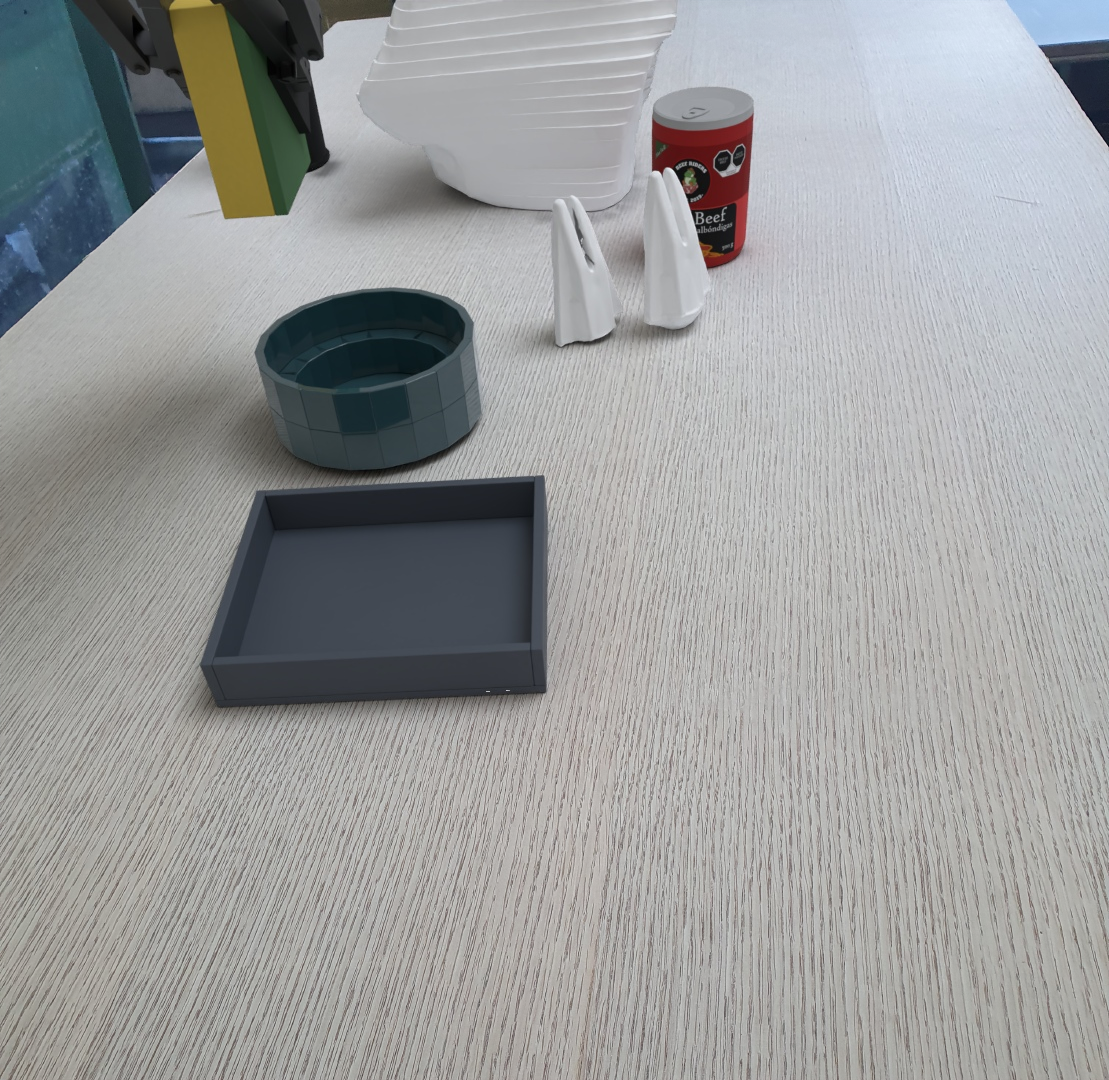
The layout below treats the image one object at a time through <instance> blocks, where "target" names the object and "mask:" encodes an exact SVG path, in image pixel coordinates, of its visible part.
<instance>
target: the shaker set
mask: <svg viewBox="0 0 1109 1080" xmlns="http://www.w3.org/2000/svg"><path fill="white" fill-rule="evenodd" d="M643 209H644V210H643V222H642V223H643V224H642V240H643V250H644V285H643V287H644V288H643V289H644V290H643V292H644V293H643V294H644V295H643V299H644V300H643V321H644V323H645V324H646V325H650V326H655V327H656V326H657V327H662V328H663V329H667V330H672V331H673V330H674V331H675V330H681V329H683V328H686V327H688V326H689V325H691V324H692V323H693V322H694V321H695V320H696V318H697V317H698V316H699V315H700V313H701V312H702V311H703V309H704V307H705V305H706V297H707V296H708V294H709V293H710V292H711V290H712V289H713V287H712V279H711V277H710V275H709V272H708V267H707V268H706V264H705V262H704V258H703V255H702V251H701V248H700V245H699V240H698V236H697V231H696V227H695V224H694V221H693V217H692V214H691V211H690V208H689V204H688V201H687V198H686V195H685V193H684V190H683V188H682V186H681V184H680V182H679V179H678V177H677V175H676V174H675V172H674V171H673V170H672V169H671V168H665V169H664V172H663V178H662V175H661V173H660V172H659V171H653V172H652V171H651V172H650V174H649V176H648V180H647V185H646V190H645V199H644V208H643ZM551 211H552V212H551V228H550V229H551V231H550V246H551V247H550V248H551V249H550V250H551V251H550V252H551V264H552V280H553V281H552V282H553V283H552V284H553V312H554V336H555V337H554V339H555V346H558V347H559V348H560V347H561V348H562V347H564V346H565V345H567V344H572V343H573V342H578V341H579V342H593V341H595V340H597V339H600V338H602V337H605V336H606V335H608V334H609V333H611V331H612V330H614V328H616V327H617V324H616V318H615V317H617V315H619V314H623V313H624V311H625V308H624V305H623V301H622V300H621V297H620V295H619V293H618V290H617V287H616V285H615V282H614V280H613V278H612V275H611V272H610V270H609V267H608V265H607V261H606V259H605V257H604V254H603V252H602V250H601V249H602V248H601V246H600V244H599V241H598V237H597V235H596V232H595V230H594V227H593V225H592V222H591V220H590V217H589V215H588V213H587V211H585V210H584V208H583V206H582V204H581V203H580V201H579V200H578V198H576V197H575V196H570V197H569V198H568V209H567V206H566V204H565V202H564V200H562V199H557V200H556V201H555V202H554V204H553V210H551ZM584 253H585V254H584Z"/></svg>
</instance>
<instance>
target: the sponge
mask: <svg viewBox="0 0 1109 1080" xmlns="http://www.w3.org/2000/svg"><path fill="white" fill-rule="evenodd" d="M169 11H170V18H171V24H172V30H173V36H174V40H175V44H176V47H177V51H178V55H179V58H180V62H181V65H182V69H183V72H184V76H185V80H186V83H187V87H188V90H189V94H190V97H191V100H190V101H191V104H192V108H193V112H194V115H195V118H196V123H197V125H198V129H199V130H198V131H199V132H200V133H199V134H200V136H201V141H202V144H203V147H204V150H205V155H206V158H207V161H208V162H207V163H208V165H209V168H210V172H211V175H212V180H213V183H214V187H215V191H216V194H217V197H218V201H219V205H220V208H221V212H222V216H223V219H224V220H234V219H236V220H237V219H250V218H263V217H265V218H266V217H275V216H276V217H278V216H279V217H280V216H288V215H289V214H290V212H291V209H292V207H293V204H294V203H295V200H296V197H297V195H298V193H299V190H300V188H301V185H302V183H303V181H304V178H305V177H306V174H307V172H308V171H307V169H308V167H309V165H310V162H311V160H310V155H309V150H308V146H307V141H306V136H305V134H299V132H298V131H297V129H296V127H295V125H294V123H293V121H292V119H291V118H290V116H289V114H288V112H287V110H286V108H285V106H284V105H283V103H282V101H281V99H280V97H279V95H278V93H277V92H276V90H275V88H274V86H273V84H272V82H271V80H270V79H269V77H268V70H267V55H266V54H265V53H264V52H263V51H262V49H261V48H260V47H259V46H258V45H257V44H256V43H255V42H254V40H253V39H252V38H251V37H250V36H249V35H248V34H247V32H246V31H245V30H244V29H243V28H242V27H241V26H240V25H239V23H238V22H237V21H236V20H235V19H234V18H233V17H232V15H231V14H230V13H229V12H228V11H227V10H226V9H225V8H224V6H223V5H222V4H221V3H220V4H216V5H214V4H213V3H212V2H211V1H210V0H174V2H173V3H172V4H171V6H170V8H169Z"/></svg>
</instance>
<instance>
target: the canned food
mask: <svg viewBox="0 0 1109 1080" xmlns="http://www.w3.org/2000/svg"><path fill="white" fill-rule="evenodd" d="M754 115H755V107H754V98H753V97H752V96H751V95H750V94H748V93H747V92H745V91H742V90H740V89H736V88H731V87H723V86H698V87H697V86H696V87H689V88H682V89H680V90H675V91H673V92H670V93H667V94H665V95H663V96H661V97H659V98H657V100H656V101H655V102H654V103H653V105H652V115H651V172H653V171H659V172H660V173H661V175H662V178H663V172H664V169H665V168H671V169H672V170H673V171H674V172H675V174H676V175H677V177H678V179H679V182H680V184H681V186H682V188H683V190H684V193H685V195H686V198H687V201H688V204H689V208H690V211H691V214H692V217H693V221H694V224H695V227H696V231H697V236H698V240H699V245H700V248H701V251H702V255H703V258H704V262H705V264H706V268H707V269H708V268H712V267H717V266H721V265H724V264H727V263H728V262H730V261H732V260H733V259H735V258H737V257H738V256H739V254H741V252H742V250H743V247H744V245H745V242H746V237H747V222H748V221H747V220H748V210H749V209H748V208H749V206H748V205H749V194H750V193H749V192H750V181H751V180H750V179H751V165H752V164H751V163H752V149H753V136H754Z"/></svg>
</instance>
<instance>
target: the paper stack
mask: <svg viewBox="0 0 1109 1080" xmlns="http://www.w3.org/2000/svg"><path fill="white" fill-rule="evenodd" d="M677 13H678V0H395V2H394V3H393V6H392V10H391V14H390V19H389V20H388V22H387V27H386V31H385V35H384V36H385V37H384V39H383V40H382V44H381V46H380V48H379V50H378V53H377V54H376V57H375V58H374V59H373V60H372V62H371V65H370V68H369V70H368V71H369V72H368V74H367V75H366V77H364V79H363V81H362V83H361V85H360V88H359V91H357V92H356V93H355V96H356V99H357V101H358V105H359V107H360V109H361V111H362V114H363V115H364V116H365V117H366V118H368V119H369V120H370V121H371V122H372V123H373V125H375V126H376V127H378V128H379V129H380V130H382V131H383V132H384V133H386V134H387V135H389V136H390V137H392V138H393V139H395V140H397V141H399V142H401V143H402V144H405V145H409V146H414V147H422V150H423V151H424V153H425V156H426V157H427V158H428V159H429V163H430V166H431V169H432V172H433V174H434V175H435V178H436V179H437V180H439V181H440V182H442V183H443V184H446V185H447V186H449V187H451V188H453V189H455V190H456V191H459V192H461V193H463V194H464V195H465V196H467V197H469V198H471V199H474V200H477V201H480V202H482V203H485V204H488V205H491V206H496V207H499V208H500V207H501V208H509V209H519V210H530V211H531V210H533V211H534V210H535V211H553V204H554V202H555V201H556V200H557V199H562V200H564V202H565V204H566V206H567V209H568V198H569V197H570V196H575V197H576V198H578V200H579V201H580V203H581V204H582V206H583V208H584V210H585V211H586V212H596V211H603V210H606V209H608V208H610V207H613V206H615V205H616V204H618V203H619V202H621V200H622V199H624V198H625V196H626V195H628V194H629V192H630V191H631V188H632V186H633V182H634V176H635V175H634V174H635V164H636V163H635V162H636V145H637V136H638V132H639V131H638V130H639V124H640V121H641V117H642V113H643V109H644V106H645V103H646V102H647V100H648V99H649V97H650V95H651V94H652V93H651V91H652V89H653V88H652V84H653V81H654V74H655V71H656V65H657V61H658V56H659V53H660V51H661V48H662V46H663V44H664V41H666V40H667V39H669V38H670V37H672V35H674V33H673V31H674V30H675V28H676V24H677V17H678V16H677V15H675V14H677Z"/></svg>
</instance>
